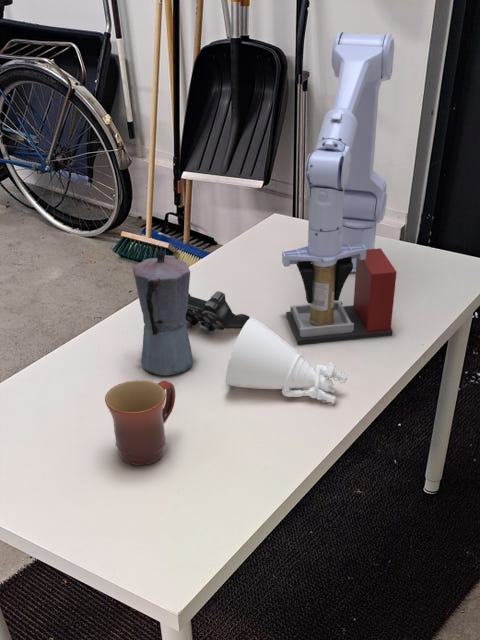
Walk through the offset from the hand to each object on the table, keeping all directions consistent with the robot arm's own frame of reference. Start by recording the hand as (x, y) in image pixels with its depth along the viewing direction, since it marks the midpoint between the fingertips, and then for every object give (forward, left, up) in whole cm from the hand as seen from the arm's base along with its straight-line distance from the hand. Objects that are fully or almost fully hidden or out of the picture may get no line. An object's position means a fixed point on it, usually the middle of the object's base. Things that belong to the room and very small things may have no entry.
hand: (322, 299), depth 154 cm
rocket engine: (+21, -11, -6) cm, 24 cm away
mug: (+32, -34, -6) cm, 47 cm away
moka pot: (+8, -29, -6) cm, 31 cm away
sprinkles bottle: (0, 0, -5) cm, 5 cm away
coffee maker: (0, +3, -6) cm, 6 cm away
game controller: (-5, -21, -6) cm, 22 cm away
